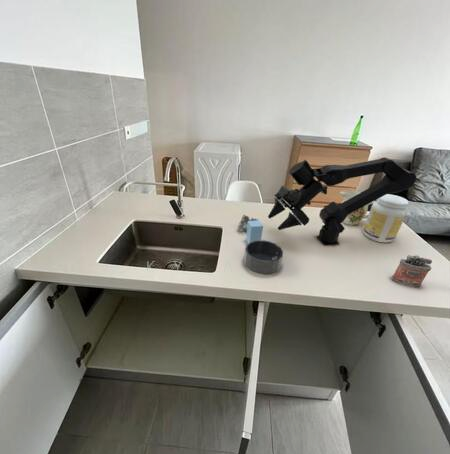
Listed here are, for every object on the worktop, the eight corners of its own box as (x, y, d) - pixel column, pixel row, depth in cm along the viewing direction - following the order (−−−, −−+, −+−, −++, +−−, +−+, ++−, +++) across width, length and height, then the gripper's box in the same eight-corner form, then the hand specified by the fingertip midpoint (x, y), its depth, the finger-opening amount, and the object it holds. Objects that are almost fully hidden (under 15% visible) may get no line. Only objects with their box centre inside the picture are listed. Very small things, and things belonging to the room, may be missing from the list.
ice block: (256, 240, 96) (258, 220, 91) (260, 246, 92) (263, 225, 87) (245, 241, 95) (247, 221, 90) (249, 247, 91) (251, 226, 86)
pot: (273, 253, 88) (276, 239, 85) (285, 275, 78) (288, 260, 75) (240, 255, 87) (242, 241, 84) (248, 277, 76) (250, 262, 73)
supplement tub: (389, 231, 107) (405, 195, 98) (398, 246, 97) (417, 207, 88) (359, 227, 109) (372, 191, 101) (365, 240, 99) (380, 202, 90)
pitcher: (375, 229, 108) (388, 200, 101) (334, 225, 110) (343, 196, 102) (366, 218, 117) (377, 191, 110) (328, 214, 119) (336, 188, 112)
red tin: (392, 282, 78) (405, 257, 72) (390, 275, 80) (403, 251, 75) (421, 289, 75) (437, 263, 70) (418, 282, 78) (433, 257, 73)
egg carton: (243, 221, 109) (243, 213, 107) (259, 224, 107) (260, 216, 105) (236, 232, 100) (236, 223, 98) (253, 236, 98) (254, 227, 96)
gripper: (283, 171, 91) (252, 200, 94) (308, 188, 75) (270, 222, 79) (298, 190, 97) (268, 216, 100) (324, 210, 81) (288, 240, 84)
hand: (273, 223), depth 91 cm, fingers open, 9 cm apart
